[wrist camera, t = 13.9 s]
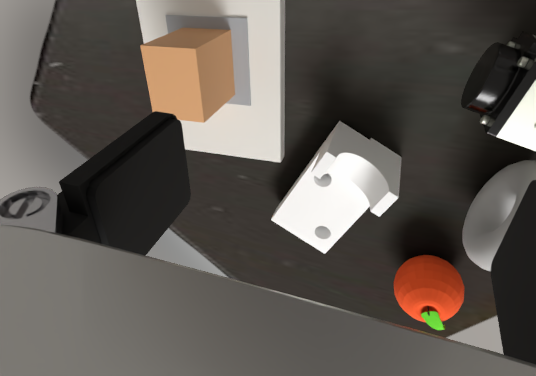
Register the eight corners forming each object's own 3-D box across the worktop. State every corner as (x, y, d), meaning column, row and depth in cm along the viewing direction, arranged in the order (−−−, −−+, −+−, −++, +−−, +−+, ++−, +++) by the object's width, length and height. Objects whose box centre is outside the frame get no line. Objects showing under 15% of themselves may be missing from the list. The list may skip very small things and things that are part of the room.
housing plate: (134, -62, 35) (99, -61, 31) (285, -65, 32) (266, -64, 28) (169, 140, 46) (146, 160, 42) (284, 155, 43) (270, 178, 39)
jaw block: (182, 27, 37) (140, 45, 31) (230, 29, 35) (195, 48, 30) (190, 90, 40) (153, 116, 34) (235, 94, 39) (204, 122, 33)
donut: (481, 228, 40) (497, 302, 32) (450, 212, 40) (458, 283, 32) (559, 151, 34) (601, 219, 26) (522, 133, 34) (553, 196, 26)
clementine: (474, 288, 44) (483, 341, 38) (413, 299, 48) (413, 349, 42) (446, 234, 42) (451, 282, 36) (384, 250, 45) (379, 297, 39)
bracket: (341, 116, 39) (326, 151, 33) (401, 155, 39) (398, 197, 33) (279, 202, 46) (259, 242, 40) (330, 234, 47) (317, 279, 41)
